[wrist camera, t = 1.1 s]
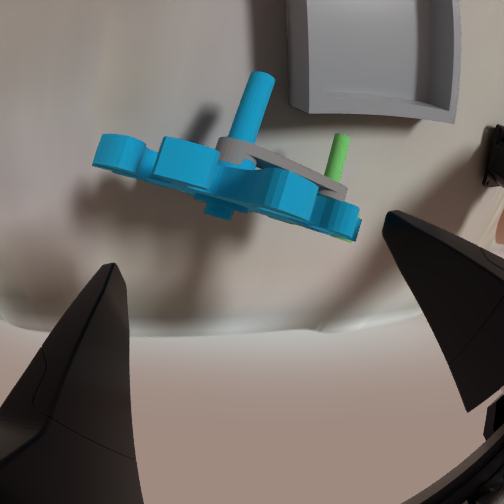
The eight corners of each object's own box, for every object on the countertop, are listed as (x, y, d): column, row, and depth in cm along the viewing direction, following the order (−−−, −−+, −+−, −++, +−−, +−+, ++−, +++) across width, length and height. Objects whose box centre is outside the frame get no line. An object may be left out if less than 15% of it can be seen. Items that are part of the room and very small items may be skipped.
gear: (102, 183, 13) (37, 180, 4) (140, 79, 12) (165, -52, 3) (285, 233, 17) (422, 284, 8) (311, 145, 17) (454, 133, 8)
